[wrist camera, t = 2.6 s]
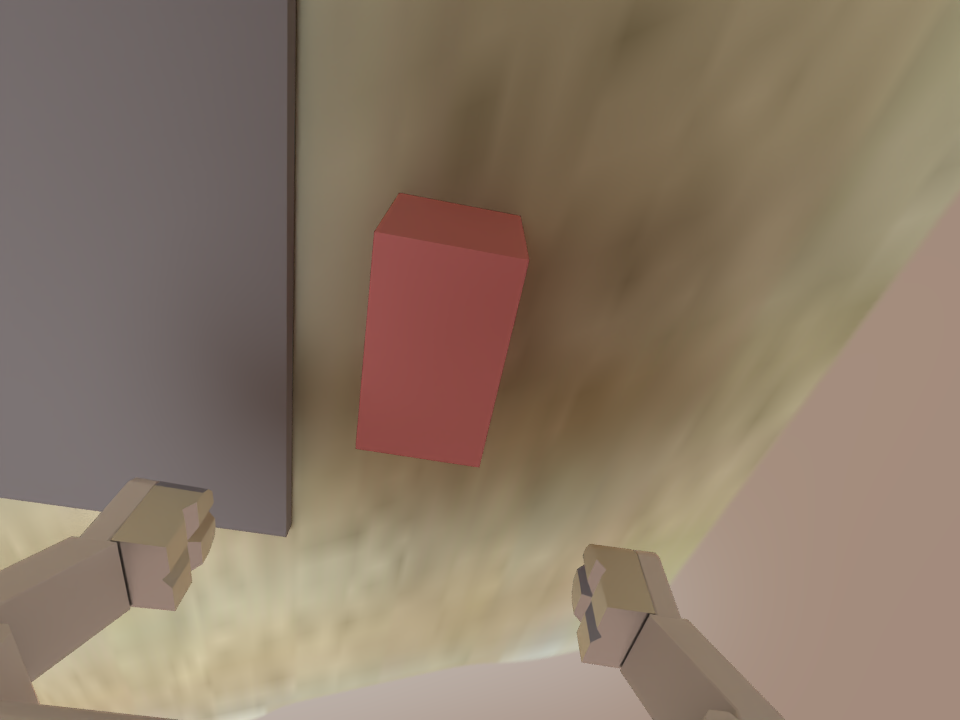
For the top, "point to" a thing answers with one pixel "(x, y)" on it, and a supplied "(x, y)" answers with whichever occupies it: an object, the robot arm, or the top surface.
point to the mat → (148, 252)
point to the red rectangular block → (438, 327)
